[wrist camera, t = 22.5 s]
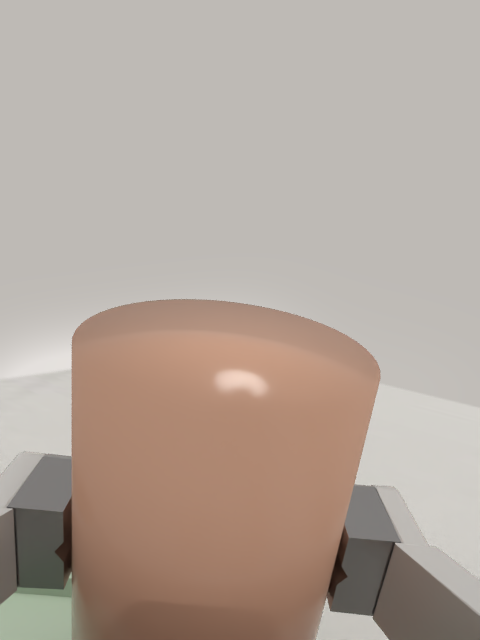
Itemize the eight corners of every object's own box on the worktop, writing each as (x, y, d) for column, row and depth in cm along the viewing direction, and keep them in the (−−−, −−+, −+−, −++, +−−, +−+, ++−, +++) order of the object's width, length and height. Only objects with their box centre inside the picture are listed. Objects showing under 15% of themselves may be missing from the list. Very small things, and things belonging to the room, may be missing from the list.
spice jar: (274, 626, 12) (337, 314, 10) (299, 896, 8) (442, 438, 5) (109, 614, 12) (121, 289, 9) (28, 884, 7) (0, 392, 4)
